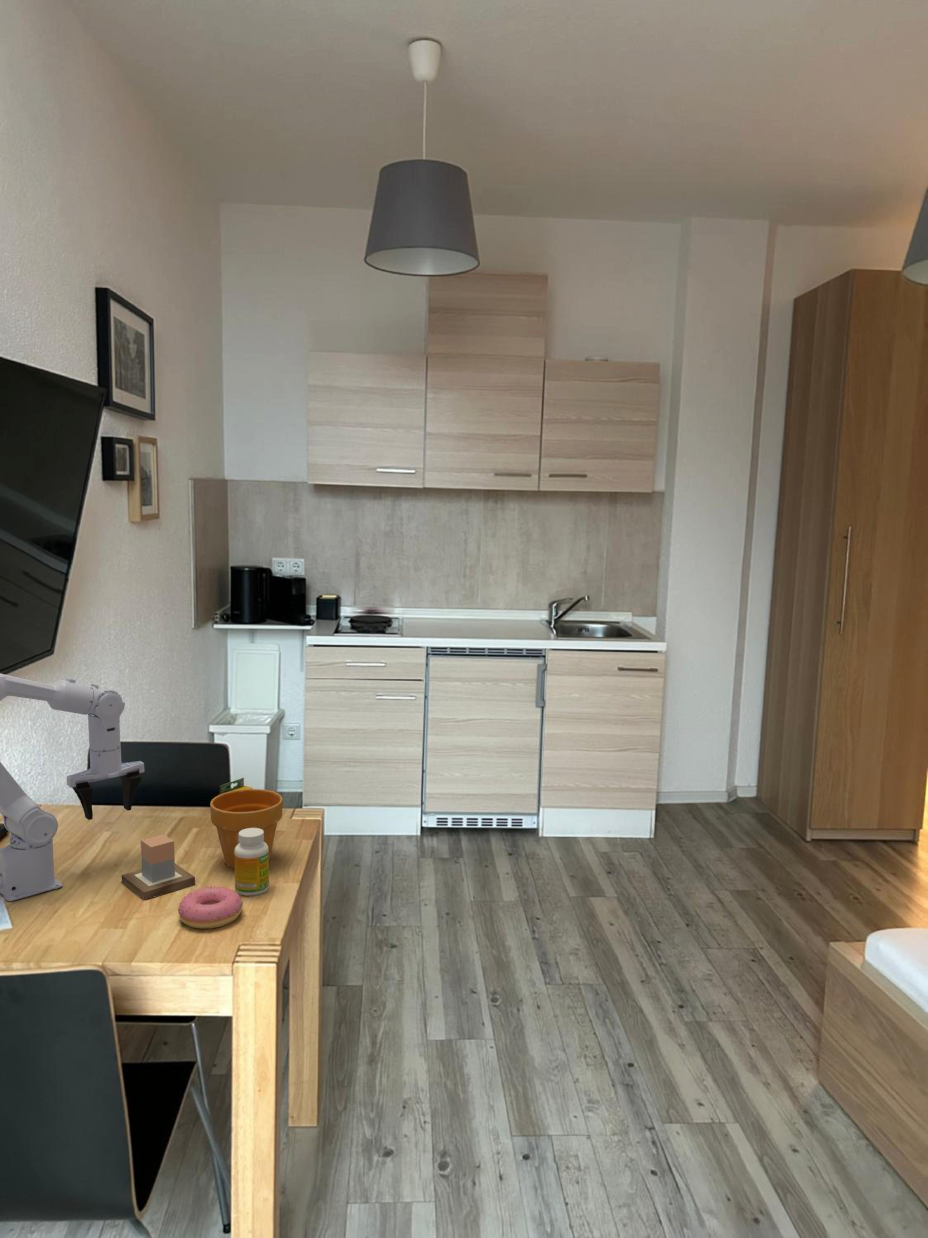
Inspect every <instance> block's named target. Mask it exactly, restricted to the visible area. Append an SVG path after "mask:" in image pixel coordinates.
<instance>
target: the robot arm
mask: <svg viewBox="0 0 928 1238" xmlns="http://www.w3.org/2000/svg"><path fill="white" fill-rule="evenodd" d="M9 696H10V697H17V698H24V699H30V700H38V701H45V702H47V704H48V705H49V707H50V708H51V709H52V710H56V711H61V712H66V713H72V714H78V715H79V714H80V715H82V716H83V715H85V716H86V715H87V723H88V724H87V725H88V744H89V762H90V763H89V765H90V768H89V769H86V770H83V771H80V772H77V773H73V774H70V775H66V786H68V787H69V788H72V790H73V791H74V793H75V794H76V796H77V798H78V800H79V802H80V804H81V807H82V809H83V813H84V817H85V819H87V820H88V821H91V820H93V817H94V815H93V792H94V789H93V788H92V787H90V783H94V782H98V781H103V780H108V779H113V778H118V777H120V780H121V786H122V787H121V788H122V804H123V809H125V810H126V811H127V812H129V811H132V806H133V801H134V799H135V795H136V792H137V789H138V787H139V785H140V784H141V782H142V775H141V774H142V773H145V763H144V762H143V761H141V760H138V761H131V762H122V747H121V745H122V744H121V743H122V742H121V725H120V721H121V720H120V717H121V715H122V714H123V713H124V709H125V705H126V702H125V701H123V698H122V696H121V694H119V692H117V691H115V690H112V689H108V688H106V687H102V686H99V684H97V683H93V682H92V683H91V684H90V685H89V684H85V683H80V682H77V680H76V679H74V678H70V677H66V678H65V679H58V680H56V681H55V682H52V683H51V684H48V683H45V682H40V681H36V680H30V679H27V678H21V677H17V676H15V675H14V676H13V675H8V674H3V673H0V702H1V701H2V700H4V699H5V698H7V697H9ZM0 814H1V816H2V819H3V825H4V828H5V829H6V831H8V833H10V838H9V843H8V845H6V846H3V847H2V848H0V894H1V895H2V896H3V897H4V898H5V899H6V901H8V902H13V901H17V900H19V899H23V898H27V897H30V896H31V897H32V896H35V895H38V894H41V893H46V892H49V891H53V890H56V889H59V888H62V887H63V883H62V882H61V881H59V879H57V877H55V863H54V861H55V858H54V839H53V838H54V837H55V836H56V835H57V832H58V829H59V822H58V820H57V818H56V816H55V815H54V814H52V813H50V812H48V811H46V810H44V809H42V808H41V807H40V806H39V804H38V803H37V802H35V801H34V800H33V799H32V798H31V797H30V796H29V795H28V794H27V793H26V792H25V791H24V789H23V788H22V787H21V785H20V784H19V783H18V782H17V781H16V779H14V777H13V776H12V774H11V773H10V772H9V771H8V770H7V768H6V767H5V766H4V765H3V763H2V762H1V761H0Z"/></svg>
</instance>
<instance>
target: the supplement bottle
mask: <svg viewBox="0 0 928 1238" xmlns="http://www.w3.org/2000/svg"><path fill="white" fill-rule="evenodd" d="M238 840H239V844H238V845H237V846H236V847H235V851H234V860H235V869H234V891H235V892H237V893H238V894H239V896H246V897H249V896H252V897H253V896H258V895H261V894H264V893H265V892H267V891H268V889H269V887H270V872H269V871H270V869H269V868H270V862H269V861H270V860H269V849H268V845H267V844H266V843H265V842H263V841H264V831H263V830H262V829H259V828H247V829H243V830H241V831H240V832H239V836H238Z"/></svg>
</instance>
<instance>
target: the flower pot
mask: <svg viewBox="0 0 928 1238" xmlns="http://www.w3.org/2000/svg"><path fill="white" fill-rule="evenodd" d="M209 805H210V808H209V809H210V821H211V823H212V824H213V825H214V826H215V829H216V831H217V835H218V840H219V845H220V847H221V851H222V855H223V859H224V862H225V865H226V866H227V867H229V868H231V869H234V870H235V860H234V851H235V847H236V846H237V845H238V844H239V840H238V836H239V832H240V831H241V830H243V829H247V828H259V829H262V830H263V831H264V841H263V842H265V843H266V844H267V845H268V849H269V861H270V860H271V855H272V850H273V846H274V840H275V837H276V836H275V835H276V831H277V826H278V822H279V821H281V819H282V817H283V808H284V807H283V796H282V795H281V794H279V793H278V792H275V791H273V790H268V789H262V788H253V789H243V790H235V791H230V792H226V793H223V794H220V793H219V794H218V795H217V796H215V797H214V798H212V799H211V800H210V804H209Z"/></svg>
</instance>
